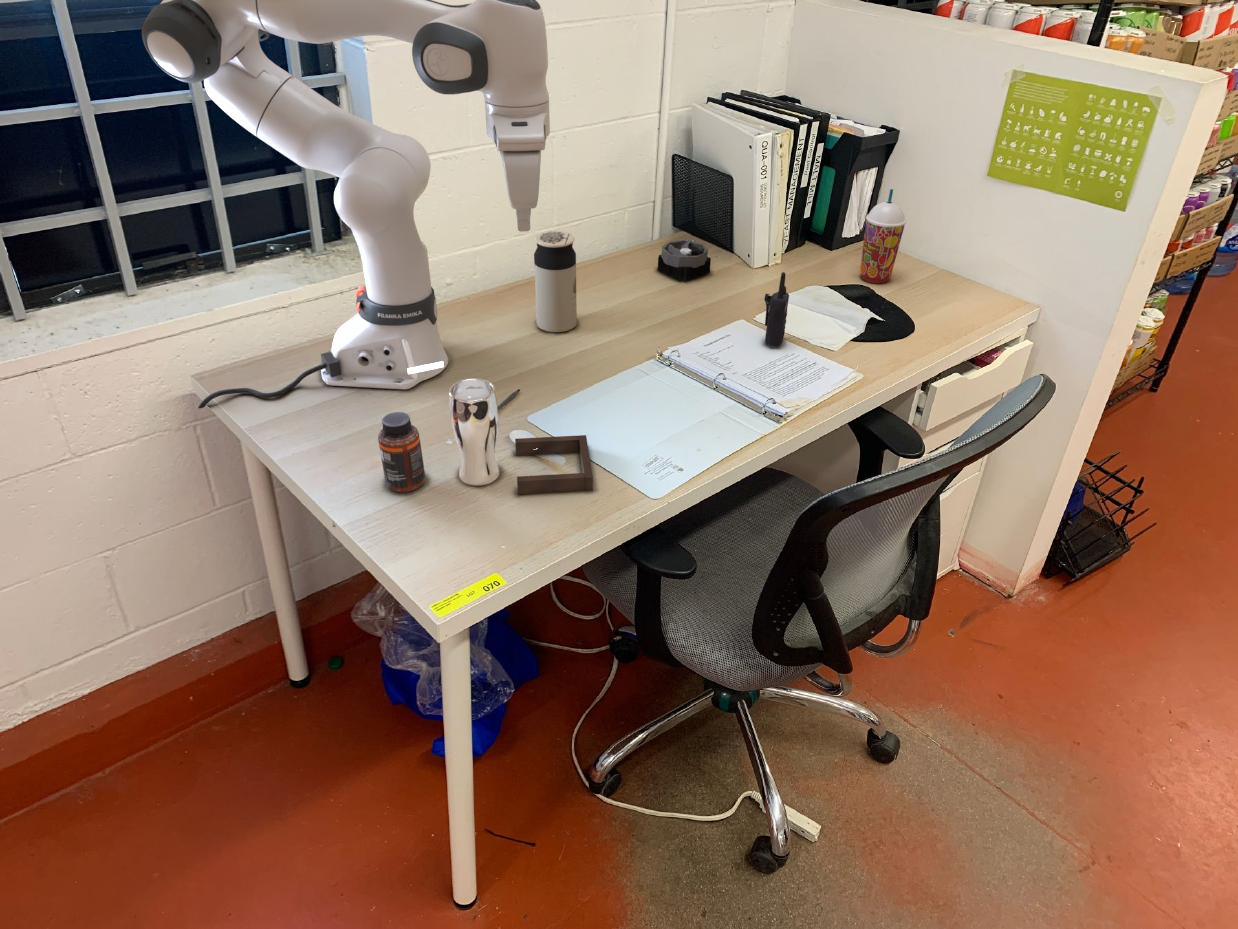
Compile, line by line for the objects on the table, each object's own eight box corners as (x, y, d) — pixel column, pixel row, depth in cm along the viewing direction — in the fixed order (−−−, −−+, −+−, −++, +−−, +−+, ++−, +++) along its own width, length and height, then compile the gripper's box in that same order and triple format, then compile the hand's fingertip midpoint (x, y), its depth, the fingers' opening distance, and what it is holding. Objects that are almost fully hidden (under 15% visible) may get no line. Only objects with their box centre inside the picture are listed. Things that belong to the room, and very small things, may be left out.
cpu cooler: (683, 259, 195) (652, 245, 201) (681, 284, 198) (651, 270, 204) (717, 248, 200) (686, 235, 207) (715, 273, 204) (685, 259, 210)
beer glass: (494, 490, 136) (487, 404, 127) (449, 484, 137) (440, 398, 128) (508, 464, 141) (502, 380, 133) (465, 458, 142) (457, 374, 134)
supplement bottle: (428, 470, 140) (420, 407, 133) (422, 493, 135) (414, 429, 128) (389, 470, 139) (379, 407, 133) (382, 494, 135) (371, 429, 128)
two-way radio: (779, 350, 174) (789, 276, 165) (756, 346, 175) (765, 273, 167) (785, 337, 178) (794, 265, 170) (762, 334, 179) (771, 262, 171)
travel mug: (531, 330, 179) (527, 243, 168) (543, 313, 185) (540, 228, 175) (570, 335, 177) (569, 247, 167) (581, 318, 184) (580, 232, 173)
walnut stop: (517, 494, 135) (517, 481, 134) (515, 451, 144) (515, 438, 143) (592, 490, 136) (592, 476, 135) (586, 447, 146) (586, 434, 144)
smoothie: (848, 273, 205) (864, 184, 194) (881, 269, 207) (898, 181, 196) (867, 287, 199) (884, 197, 187) (901, 283, 201) (920, 194, 189)
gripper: (493, 103, 135) (498, 195, 143) (497, 142, 118) (503, 244, 126) (536, 102, 135) (539, 194, 143) (545, 141, 119) (548, 242, 127)
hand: (522, 218), depth 134 cm, fingers open, 8 cm apart
